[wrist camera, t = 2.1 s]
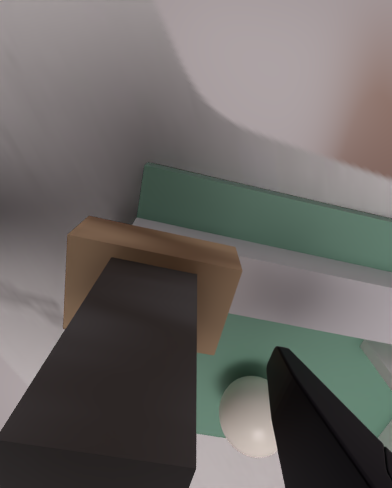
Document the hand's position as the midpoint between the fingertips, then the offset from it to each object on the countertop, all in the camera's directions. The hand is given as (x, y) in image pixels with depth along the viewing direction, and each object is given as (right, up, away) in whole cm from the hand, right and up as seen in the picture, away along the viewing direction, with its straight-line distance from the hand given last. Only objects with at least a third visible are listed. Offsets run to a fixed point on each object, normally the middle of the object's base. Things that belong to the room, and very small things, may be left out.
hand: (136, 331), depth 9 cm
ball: (+5, -7, +7) cm, 11 cm away
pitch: (+8, -3, +9) cm, 12 cm away
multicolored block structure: (-1, -1, +7) cm, 7 cm away
